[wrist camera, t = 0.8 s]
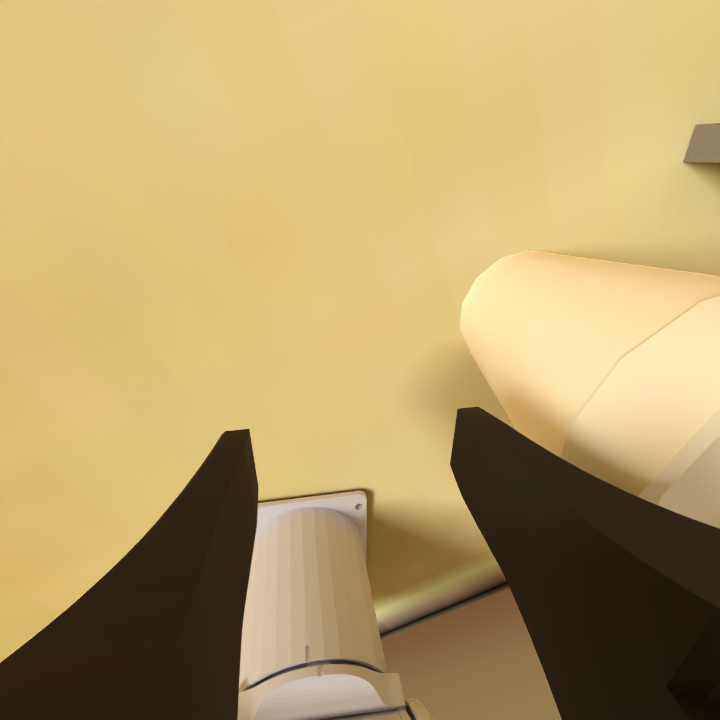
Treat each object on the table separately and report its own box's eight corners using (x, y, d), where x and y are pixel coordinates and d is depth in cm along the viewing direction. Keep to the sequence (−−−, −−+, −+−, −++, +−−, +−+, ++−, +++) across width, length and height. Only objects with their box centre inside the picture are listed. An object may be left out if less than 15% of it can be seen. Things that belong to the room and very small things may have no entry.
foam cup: (496, 181, 18) (884, 227, 6) (636, 261, 21) (1073, 390, 9) (400, 361, 21) (538, 605, 10) (533, 407, 24) (758, 635, 13)
